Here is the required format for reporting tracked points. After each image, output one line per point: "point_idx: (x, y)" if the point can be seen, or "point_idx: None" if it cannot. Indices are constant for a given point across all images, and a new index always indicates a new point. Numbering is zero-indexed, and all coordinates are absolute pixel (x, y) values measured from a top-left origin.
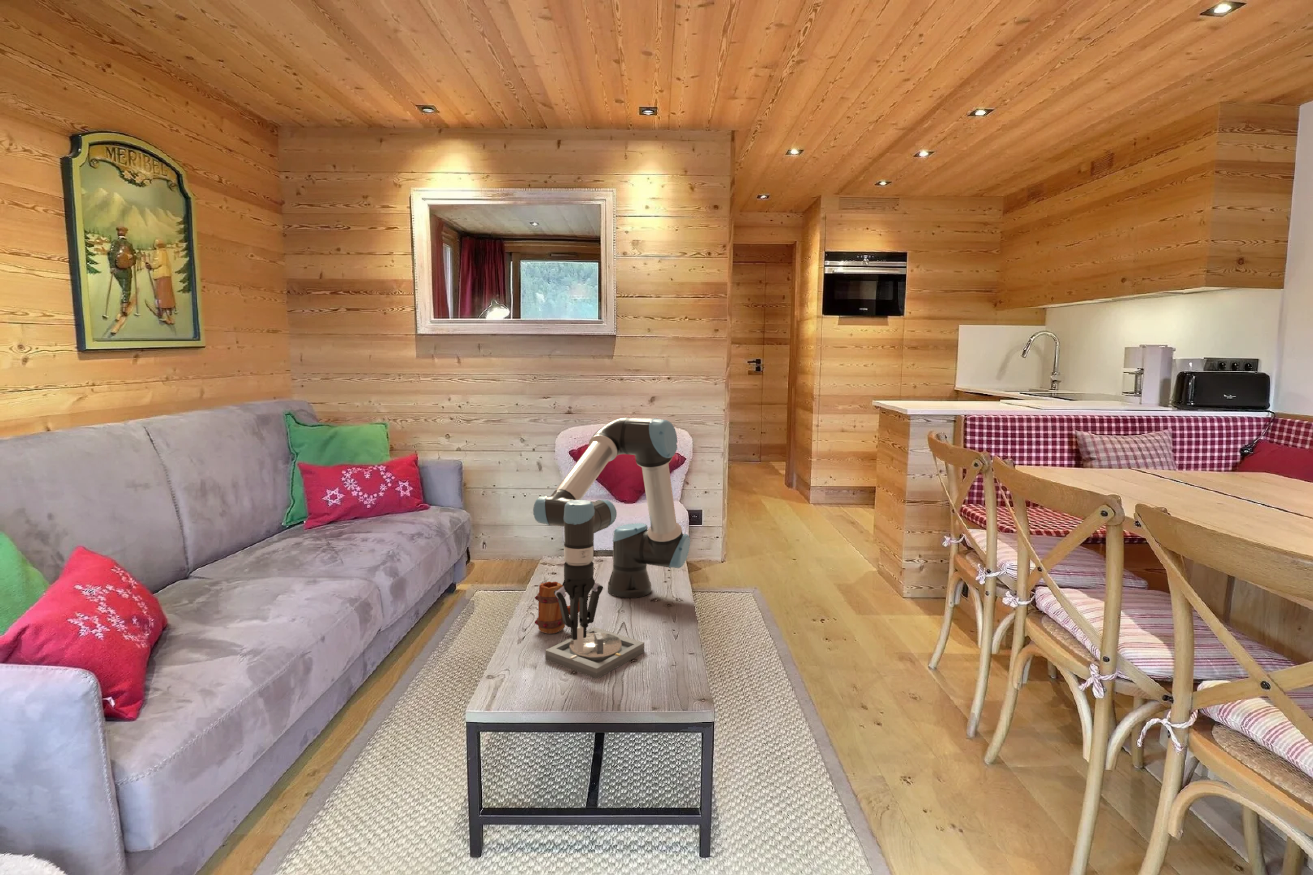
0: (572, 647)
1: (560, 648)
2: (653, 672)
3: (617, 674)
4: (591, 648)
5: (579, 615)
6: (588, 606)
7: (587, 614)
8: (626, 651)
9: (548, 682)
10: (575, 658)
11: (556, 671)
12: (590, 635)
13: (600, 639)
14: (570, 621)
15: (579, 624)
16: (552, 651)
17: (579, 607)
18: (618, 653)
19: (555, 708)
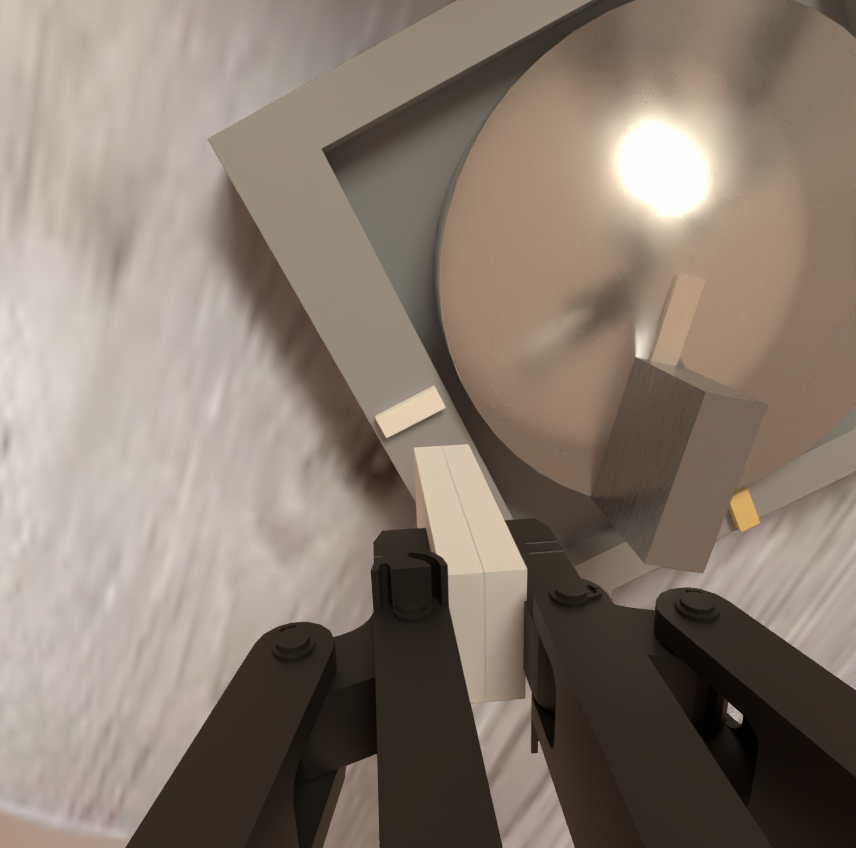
0: (453, 277)
1: (378, 120)
2: (820, 644)
3: (625, 594)
4: (600, 372)
5: (566, 672)
6: (844, 773)
7: (710, 681)
8: (827, 475)
9: (166, 535)
10: (416, 436)
11: (263, 400)
12: (739, 59)
13: (673, 565)
14: (326, 819)
15: (521, 588)
16: (267, 208)
17: (625, 815)
18: (751, 505)
19: (140, 817)
